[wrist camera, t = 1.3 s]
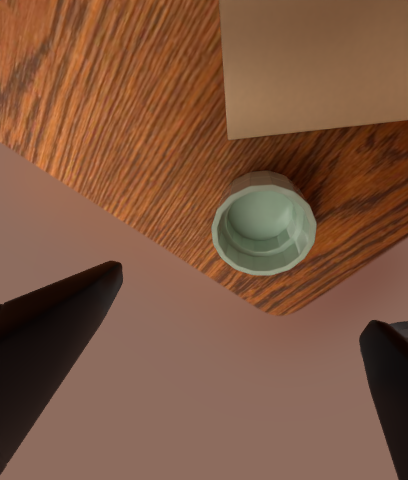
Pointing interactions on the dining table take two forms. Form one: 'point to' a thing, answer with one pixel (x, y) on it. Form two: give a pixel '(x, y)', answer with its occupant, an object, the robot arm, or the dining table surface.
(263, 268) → the bowl
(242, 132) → the plate
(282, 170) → the dining table surface
